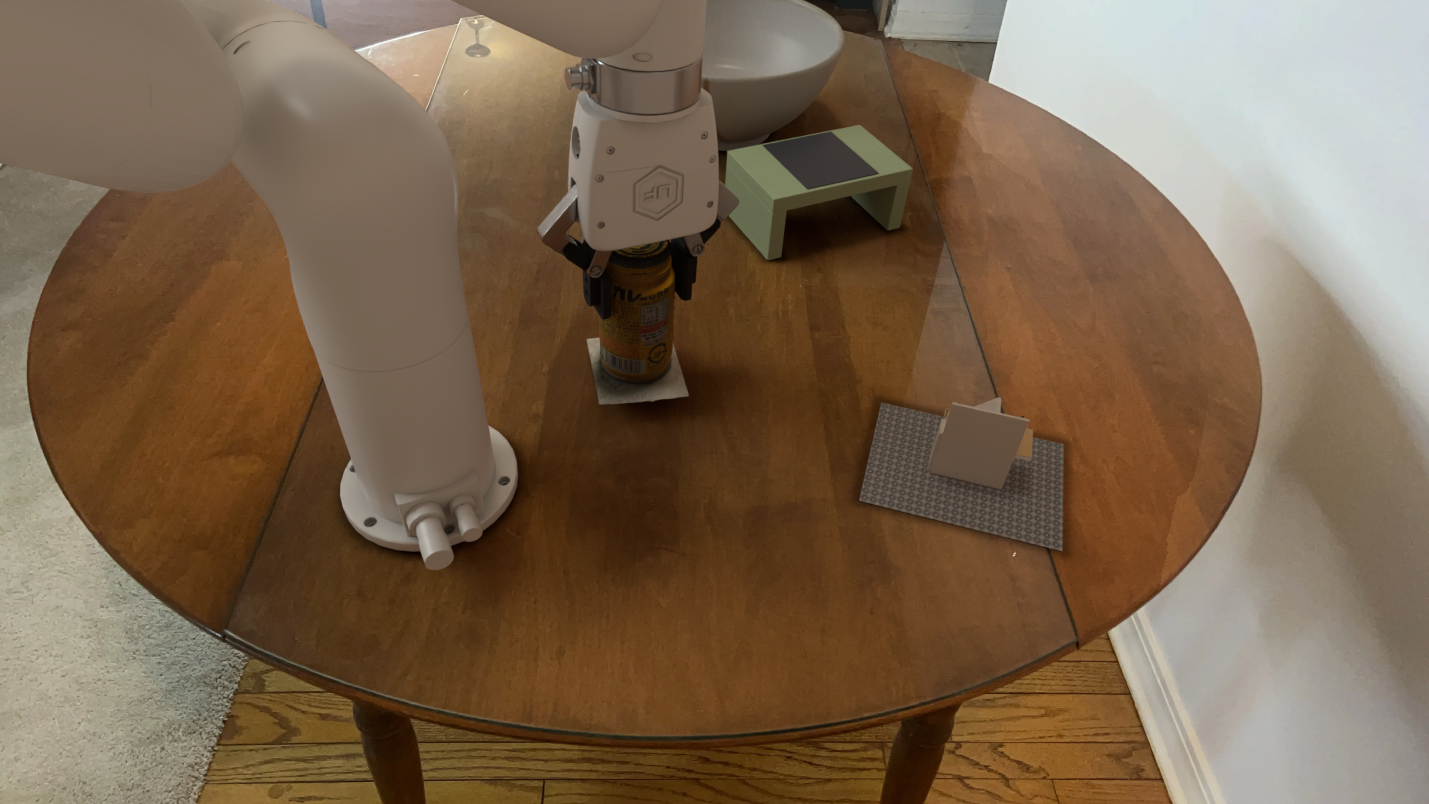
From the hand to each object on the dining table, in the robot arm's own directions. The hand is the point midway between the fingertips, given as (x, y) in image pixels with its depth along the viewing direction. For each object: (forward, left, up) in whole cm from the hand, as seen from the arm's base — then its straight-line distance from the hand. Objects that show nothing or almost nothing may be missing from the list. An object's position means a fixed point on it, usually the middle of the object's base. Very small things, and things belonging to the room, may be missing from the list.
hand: (640, 298), depth 71 cm
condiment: (0, +1, -7) cm, 7 cm away
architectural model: (-20, -19, -9) cm, 29 cm away
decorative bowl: (+38, -26, -9) cm, 47 cm away
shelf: (+16, -26, -9) cm, 32 cm away
